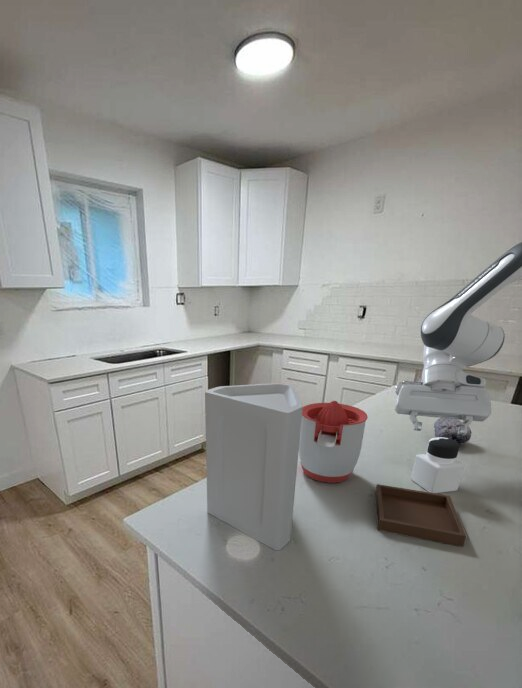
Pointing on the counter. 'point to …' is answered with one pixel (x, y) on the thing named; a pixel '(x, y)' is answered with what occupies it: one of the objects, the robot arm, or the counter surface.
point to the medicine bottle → (438, 466)
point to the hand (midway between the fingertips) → (439, 432)
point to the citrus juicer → (330, 440)
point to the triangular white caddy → (253, 458)
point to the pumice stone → (451, 430)
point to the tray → (418, 515)
